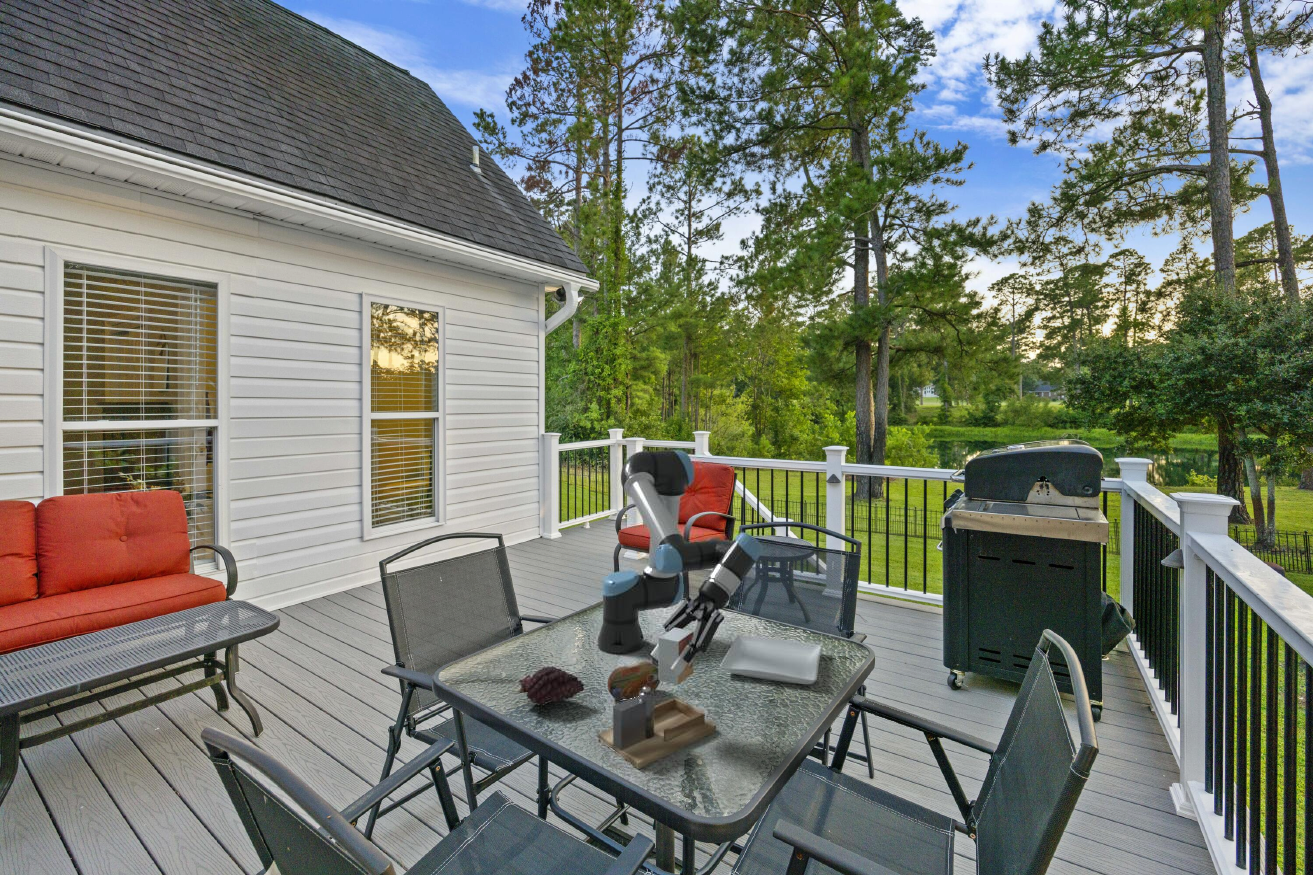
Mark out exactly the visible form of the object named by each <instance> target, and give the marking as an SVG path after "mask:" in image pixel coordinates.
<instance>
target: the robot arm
mask: <svg viewBox="0 0 1313 875" xmlns="http://www.w3.org/2000/svg"><path fill="white" fill-rule="evenodd" d="M694 478H695V469H694V465H693V462H692V459H691V457H690V456H689V455H688V453H687V452H685V451H684V450H677V449H676V450H674V449H670V450H669V449H667V450H649V451H648V450H642V451H637V452H636V453H634V454H632V455H631V456H630V457H629V458H627V460H626V461H625V462H624V464H623V466H622V468H621V472H620V482H621V487H622V489H623V491H624V493H625V494H626V496H628V497H630V498H631V500H632V501H633V503H634V506H635V507H636V508H637V511H638V513H639V515H640V516H641V518H642V521H643V522H644V524H645V526H646V528H647V530H648V532H649V534H650V539H649V553H648V554H649V555H648V563H646V564H644V566H643V572H642V574H638V572H637V571H635V570H621V571H615V572H613V573H611V574H608V575H607V576H606V577H605V578H604V580H603V582H602V584H603V585H602V591H601V592H602V624H601V628H600V631H599V635H598V636H597V647H598V646H599V647H598V649H599V650H601V649H602V650H601V651H603V650H604V651H603V652H605V651H606V653H609V652H610V654H616V653H623V654H630V653H634V652H637V651H640V650H641V649H642V648H643V647H644V644H645V638H644V637H645V636H644V634H643V631H642V627H641V624H640V621H639V613H640V612H643V611H651V610H657V609H667V608H669V607H675V606H677V605H678V604H679V603H680V602H681V601H682V598H683V595H684V592H685V591H684V590H685V589H684V588H685V586H684V585H685V584H684V583H683V582H684V579H683V575H682V574H681V573H687V572H694V571H704V570H711V571H710V573H709V574H708V575H707V579H706V580H704V582H703V583H702V584H701V586H700V587H699V588H698V595H697V596H696V598H694V599H693V598H691V597H690V596H686V597H685V599H684V601H683V602H682V604H681V605H680V606H679V607H678V608H677V609H676V611H674V612H673V613H672V614H671V616H670V617H669V618H667V620H666V621H665V622H664V623H663V624H662V627H663V628H664V630H665V632H664V633H663V635H664V634H666V633H667V632H669V631H670V630H672V629H673V628H674V627H675V628H680V629H684V628H686V627H687V626H688V625H689V624H691V623H692V622H697V623H696V626H695V628H694V631H693V632H694V635H693V638H692V641H691V643H688V644H689V645H690V646H691V647H690V646H688V645H686V647H685V648H684V650H683V651H682V653H681V654H680V655H679V657H678V658H677V660H676V661H675V663H674V664H673V665H672V667H671V669H672V670H673V671H674V672H675V673H676V674H678V675H680V674H681V672H682V671H683V669H684V668H685V667H686V665H687V664H688V663H689V662H690V661H691V660H692V659H693V660H694V657H695V656H696V654H697V653H699V652H702V653H703V654H704V653H706V652H707V650H708V648H709V646H710V644H711V642H712V640H713V639H714V636H715V634H716V633H717V630H718V628H719V626H720V625H721V623H723V621H724V620H725V616H724V615H723V614H722V613H721V612H720V611H719V610H723V609H724V608H725V607H726V605H727V604H728V602H729V601H730V599H731V596H733V595H734V593H735V592H736V590H737V589H738V587H740V585H741V583H742V582H743V581H744V579H745V578H746V576H747V575H748V574H749V573H750V571H751V569H752V568H753V566H754V565H755V564H756V563H757V562H758V559H759V557H760V556H761V554H762V552H763V549H764V548H763V546H762V543H761V542H760V541H759V540H757V539H756V538H755V537H754V536H753V535H751V534H749V533H747V532H739V533H738V535H737V536H735V537H734V540H727V539H723V538H719V537H715V538H712V537H711V538H708V539H706V540H698V541H691V542H690V541H689V542H688V541H686V540H685V538H684V536H683V535H682V533H681V531H680V529H679V527H678V526H679V525H678V524H679V513H680V503H681V497H683V496H684V495H685V494H686V488H687V487H689V486H691V485H692V484H693V482H694ZM650 655H651V656H652V657H653V658H654V659H655V660H657V661H658V643H657V645H656V646H655V647H654V649H653V650H652V652H651V653H650Z"/></svg>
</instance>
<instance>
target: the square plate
mask: <svg viewBox="0 0 1313 875" xmlns="http://www.w3.org/2000/svg"><path fill="white" fill-rule="evenodd" d="M822 650H823V646H822V645H821V644H816V643H809V642H802V641H796V640H795V641H794V640H790V639H788V640H787V639H781V638H774V637H767V636H757V635H749V634H748V635H746V634H737V635H736V636H735V638H734V640H733V642H732V643H731V646H730V648H729V649H728V651H727V653H726V654H725V656H724V657H723V660H722V661H721V663H720V665H719V667H720V668H721V669H722V670H723V671H725V672H727V673H729V674H732V675H733V674H734V675H740V676H743V677H747V678H755V679H762V680H768V681H776V682H781V683H782V682H783V683H789V684H800V685H801V684H802V685H812V684H814V683H815V682H817V679H818V672H819V664H820V659H821V658H820V657H821V654H822Z"/></svg>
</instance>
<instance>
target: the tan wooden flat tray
mask: <svg viewBox="0 0 1313 875" xmlns="http://www.w3.org/2000/svg"><path fill="white" fill-rule="evenodd" d="M705 714H706V713H705V712H703V711H701V710H699V709H698V708H695V707H694V706H692V705H690V704H688V703H687V702H685V701H682V700H680V699H679V698H677V697H673V698H671V699H668V700H666V701H663V702H661V703H658V704H656V705H654V736H653V737H652V738H649V739H646V740H644V741H641V742H639V743H637V744H635V745H633V746H630V747H628V748H626V749H624V750H622V751H621V750H620V749H618V748H617V747H615V746H614V745H613V727H611V728H609V729H607V730H605V731H602V732H600V733H597V739H598V738H599V739H601V740H602V741H603V742H604V743H606V744H607V745H608V746H609V747H611V748H612V749H613V750H615V751H616V752H617V753H618V754H620V755H621V756H622V757H623V758H624V759H626V760H627V761H628V762H630V763H631V764H632V765H633V766H632V765H631V764H630V763H629V764H630V765H631V766H632V767H634V766H635V767H636V768H637V770H640V769H642V767H643V768H645V767H646V766H648V765H651V764H653V763H655V762H656V761H658V760H661V759H663V758H664V757H667V756H669V755H670V754H673V753H675V752H677V751H679V750H680V749H683V748H685V747H687V746H689V745H691V744H693V743H695V742H697V741H699V740H701V739H702V738H705V737H708V736H709V735H711V734H713V733H715V732H717V724H715V723H714V722H712V721H710V720H708V719H706V715H705ZM623 758H622V759H623ZM624 759H623V760H624ZM626 760H625V761H626ZM627 761H626V762H627ZM628 762H627V763H628ZM644 766H645V767H644ZM635 767H634V768H635ZM636 768H635V769H636Z"/></svg>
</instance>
